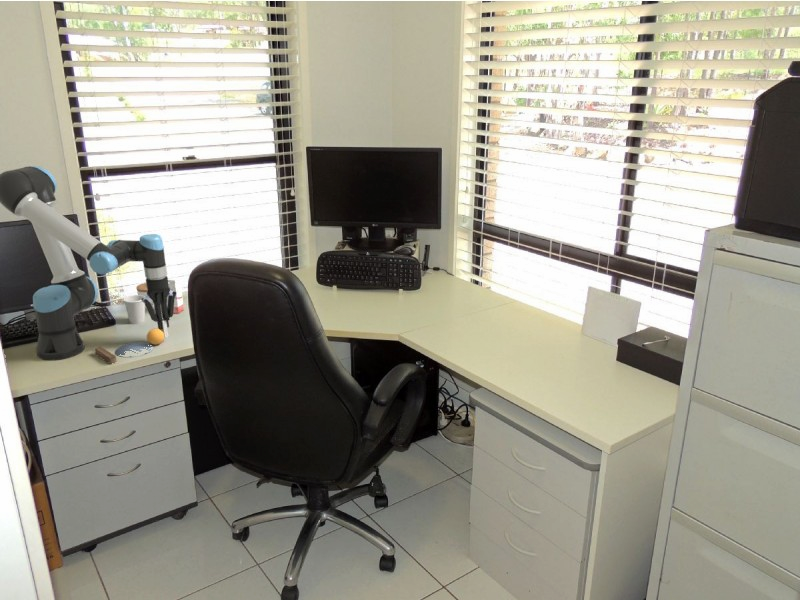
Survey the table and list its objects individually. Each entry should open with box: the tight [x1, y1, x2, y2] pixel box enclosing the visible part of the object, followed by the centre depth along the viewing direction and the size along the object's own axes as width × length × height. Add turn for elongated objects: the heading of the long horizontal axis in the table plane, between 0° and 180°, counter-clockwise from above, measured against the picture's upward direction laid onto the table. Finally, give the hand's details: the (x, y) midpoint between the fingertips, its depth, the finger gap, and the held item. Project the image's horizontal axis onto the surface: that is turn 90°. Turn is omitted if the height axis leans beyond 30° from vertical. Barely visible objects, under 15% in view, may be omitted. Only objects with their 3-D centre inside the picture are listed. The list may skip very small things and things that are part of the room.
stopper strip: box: [94, 346, 117, 365], centre depth 219 cm, size 2×12×2 cm, turn 48°
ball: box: [146, 328, 165, 346], centre depth 231 cm, size 6×6×6 cm
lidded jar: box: [136, 282, 154, 306], centre depth 273 cm, size 11×11×9 cm
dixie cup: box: [122, 294, 146, 325], centre depth 251 cm, size 8×8×10 cm
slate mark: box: [115, 341, 154, 356], centre depth 227 cm, size 13×13×1 cm
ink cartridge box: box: [160, 279, 185, 314], centre depth 263 cm, size 9×5×15 cm, turn 80°
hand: (164, 336), depth 234 cm, fingers closed
